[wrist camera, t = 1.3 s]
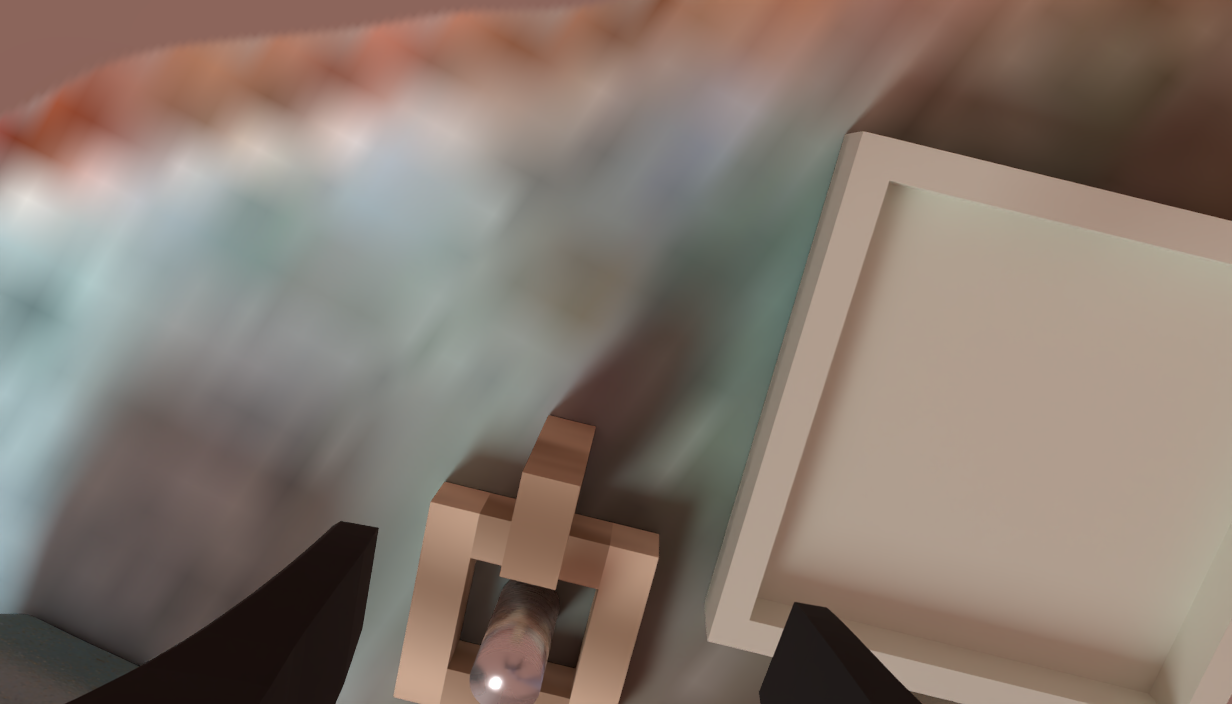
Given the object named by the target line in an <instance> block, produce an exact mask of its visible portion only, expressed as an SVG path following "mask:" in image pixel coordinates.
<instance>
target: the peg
mask: <svg viewBox="0 0 1232 704" xmlns="http://www.w3.org/2000/svg"><path fill="white" fill-rule="evenodd" d="M559 608H560V602H559V597H558V594H557V592H556V591H555V590H553V589H549V588H545V587H540V586H536V585H532V584H528V583H524V582H520V581H516V580H511V581H509V582H508V583H507V584H506V585H505V586H504V588H503V589H502V591H501V593H500V596H499V599H498V601H497V604H496V607H495V609H494V612H493V614H492V617H491V620H490V622H489V625H488V628H487V630H486V633H485V636H484V638H483V641H482V643H481V646H480V649H479V651H478V654H477V657H476V659H475V662H474V665H473V667H472V670H471V673H470V678H469V683H470V688H471V691H472V693H473V695H474V697H475V698H476V700H477V701H478V702H479V703H480V704H534V703H535V701H536V700H537V698H538V696H539V693H540V690H541V685H542V681H543V677H544V672H545V668H546V664H547V660H548V655H549V651H550V647H551V642H552V638H553V634H554V630H555V625H556V621H557V617H558V613H559Z"/></svg>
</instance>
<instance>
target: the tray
mask: <svg viewBox="0 0 1232 704" xmlns="http://www.w3.org/2000/svg"><path fill="white" fill-rule="evenodd" d="M794 602H799V603H805V604H810V605H816V606H822V607H827V608H828V609H829V610H830V611H831V612H833V613H834V614H835V615H836V616H837V617H838V618H839V619H840V620H841V621H842V622H843V623H844V624H845V625H846V626H847V627H848V628H849V629H850V630H851V631H852V632H853V633H854V634H855V635H856V636H857V637H858V638H859V639H860V640H861V641H862V643H863V644H864V645H865V646H866V647H867V648H868V649H869V650H870V651H871V652H872V653H873V654H874V655H875V656H876V657H877V658H878V659H879V660H880V661H881V662H882V664H883V665H884V666H885V667H886V668H887V669H888V670H889V671H890V672H891V673H892V674H893V675H894V676H895V677H896V678H897V679H898V680H899V681H900V682H901V683H902V684H903V685H904V686H905V687H906V688H907V689H908V690H909V691H913V692H917V693H921V694H925V695H929V696H934V697H938V698H942V699H946V700H950V701H954V702H958V703H962V704H1227V702H1228V700H1229V698H1230V696H1231V695H1232V221H1229V220H1225V219H1221V218H1217V217H1213V216H1209V215H1205V214H1201V213H1197V212H1192V211H1188V210H1184V209H1180V208H1176V207H1172V206H1168V205H1164V204H1160V203H1156V202H1152V201H1147V200H1143V199H1139V198H1135V197H1131V196H1127V195H1123V194H1119V193H1115V192H1111V191H1106V190H1102V189H1098V188H1094V187H1090V186H1086V185H1082V184H1078V183H1074V182H1070V181H1066V180H1061V179H1057V178H1053V177H1049V176H1045V175H1041V174H1037V173H1033V172H1029V171H1025V170H1021V169H1016V168H1012V167H1008V166H1004V165H1000V164H996V163H992V162H988V161H984V160H980V159H975V158H971V157H967V156H963V155H959V154H955V153H951V152H947V151H943V150H939V149H935V148H930V147H926V146H922V145H918V144H914V143H910V142H906V141H902V140H898V139H894V138H890V137H885V136H881V135H877V134H873V133H869V132H865V131H861V132H855V133H849V134H845V136H844V139H843V142H842V146H841V149H840V152H839V156H838V159H837V162H836V166H835V169H834V172H833V176H832V179H831V182H830V186H829V189H828V192H827V196H826V199H825V202H824V206H823V209H822V212H821V216H820V219H819V222H818V226H817V229H816V232H815V236H814V239H813V242H812V246H811V249H810V252H809V256H808V259H807V262H806V266H805V269H804V272H803V276H802V279H801V282H800V286H799V289H798V292H797V296H796V299H795V302H794V306H793V309H792V312H791V316H790V319H789V322H788V326H787V329H786V332H785V336H784V339H783V342H782V346H781V349H780V352H779V356H778V359H777V362H776V366H775V369H774V372H773V376H772V379H771V382H770V386H769V389H768V392H767V396H766V399H765V402H764V406H763V409H762V412H761V416H760V419H759V422H758V426H757V429H756V432H755V436H754V439H753V442H752V445H751V449H750V452H749V455H748V459H747V462H746V465H745V469H744V472H743V475H742V479H741V482H740V485H739V489H738V492H737V495H736V499H735V502H734V505H733V509H732V512H731V515H730V519H729V522H728V525H727V529H726V532H725V535H724V539H723V542H722V545H721V549H720V552H719V555H718V559H717V562H716V565H715V569H714V572H713V575H712V579H711V582H710V585H709V589H708V592H707V595H706V599H705V602H704V609H705V619H706V630H707V641H709V642H714V643H718V644H722V645H726V646H730V647H734V648H738V649H742V650H746V651H750V652H754V653H758V654H762V655H767V656H771V657H773V655H774V653H775V650H776V647H777V645H778V642H779V640H780V637H781V635H782V632H783V629H784V627H785V624H786V622H787V619H788V617H789V614H790V611H791V609H792V606H793V604H794Z"/></svg>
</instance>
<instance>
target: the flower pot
mask: <svg viewBox="0 0 1232 704" xmlns="http://www.w3.org/2000/svg"><path fill="white" fill-rule="evenodd" d="M138 667H139V666H137V665H135V664H133V663H131V662H128V661H126V660H124V659H122V658H120V657H118V656H115V655H113V654H111V653H109V652H107V651H104V650H102V649H100V648H98V647H95V646H93V645H91V644H89V643H87V642H85V641H83V640H81V639H79V638H76V637H74V636H72V635H70V634H68V633H66V632H64V631H62V630H60V629H58V628H56V627H54V626H52V625H50V624H48V623H46V622H44V621H42V620H39V619H37V618H35V617H33V616H29V615H26V614H0V704H65V703H67V702H69V701H72V700H74V699H76V698H78V697H80V696H82V695H84V694H86V693H88V692H90V691H92V690H94V689H96V688H98V687H100V686H102V685H104V684H106V683H108V682H110V681H112V680H114V679H116V678H118V677H120V676H122V675H124V674H126V673H128V672H130V671H132V670H134V669H136V668H138Z"/></svg>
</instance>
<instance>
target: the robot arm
mask: <svg viewBox="0 0 1232 704" xmlns="http://www.w3.org/2000/svg"><path fill="white" fill-rule="evenodd" d="M378 529H379V528H377V527H371V526H365V525H360V524H354V523H349V522H343V521H340V522H339V523H337V524H335V525H334V526H332V527H331V528H330V529H329V530H328V531H327V532H326V533H325V534H324V535H323V536H322V537H320V538H319V539H318V540H317V541H316V542H315V543H314V544H313V545H311V546H310V547H309V548H308V549H307V550H306V551H305V552H303V553H302V554H301V555H300V556H299V557H298V558H296V559H295V560H294V561H293V562H292V563H290V564H289V565H288V566H287V567H286V568H284V569H283V570H282V571H281V572H279V573H278V574H277V575H276V576H274V577H273V578H272V579H270V580H269V581H268V582H267V583H265V584H264V585H263V586H262V587H260V588H259V589H258V590H257V591H255V592H254V593H253V594H251V595H250V596H249V597H247V598H246V599H244V600H243V601H242V602H240V603H239V604H237V605H236V606H234V607H233V608H232V609H230V610H229V611H227V612H226V613H225V614H223V615H222V616H220V617H219V618H217V619H216V620H215V621H213V622H212V623H210V624H209V625H207V626H206V627H204V628H203V629H201V630H200V631H198V632H197V633H195V634H194V635H192V636H190V637H189V638H187V639H186V640H184V641H182V642H181V643H179V644H178V645H176V646H174V647H173V648H171V649H169V650H167V651H166V652H164V653H162V654H161V655H159V656H157V657H156V658H154V659H152V660H150V661H149V662H147V663H145V664H143V665H141V666H140V667H138V668H136V669H134V670H132V671H130V672H128V673H126V674H124V675H122V676H120V677H118V678H116V679H114V680H112V681H110V682H108V683H106V684H104V685H102V686H100V687H98V688H96V689H94V690H92V691H90V692H88V693H86V694H84V695H82V696H80V697H78V698H76V699H74V700H72V701H69V702H67V703H65V704H335V703H336V701H337V699H338V696H339V694H340V692H341V690H342V688H343V685H344V682H345V679H346V676H347V673H348V670H349V667H350V664H351V661H352V658H353V655H354V652H355V649H356V646H357V643H358V640H359V637H360V634H361V631H362V627H363V621H364V615H365V609H366V603H367V597H368V591H369V584H370V578H371V572H372V566H373V560H374V554H375V547H376V541H377V535H378ZM759 695H760V703H761V704H922V703H921V702H920V701H919V700H918V699H917V698H916V697H915V696H914V695H913V694H912V693H911V692H910V691H909V690H908V689H907V688H906V687H905V686H904V685H903V684H902V683H901V682H900V681H899V680H898V679H897V678H896V677H895V676H894V675H893V674H892V673H891V672H890V671H889V670H888V669H887V668H886V667H885V666H884V665H883V664H882V662H881V661H880V660H879V659H878V658H877V657H876V656H875V655H874V654H873V653H872V652H871V651H870V650H869V649H868V648H867V647H866V646H865V645H864V644H863V643H862V641H861V640H860V639H859V638H858V637H857V636H856V635H855V634H854V633H853V632H852V631H851V630H850V629H849V628H848V627H847V626H846V625H845V624H844V623H843V622H842V621H841V620H840V619H839V618H838V617H837V616H836V615H835V614H834V613H833V612H831V611H830V610H829V609H828V608H827V607H822V606H816V605H810V604H805V603H799V602H794V604H793V606H792V609H791V611H790V614H789V617H788V619H787V622H786V624H785V627H784V629H783V632H782V635H781V637H780V640H779V642H778V645H777V647H776V650H775V653H774V655H773V658H772V660H771V663H770V665H769V668H768V671H767V673H766V676H765V678H764V681H763V683H762V686H761V689H760V691H759Z"/></svg>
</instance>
